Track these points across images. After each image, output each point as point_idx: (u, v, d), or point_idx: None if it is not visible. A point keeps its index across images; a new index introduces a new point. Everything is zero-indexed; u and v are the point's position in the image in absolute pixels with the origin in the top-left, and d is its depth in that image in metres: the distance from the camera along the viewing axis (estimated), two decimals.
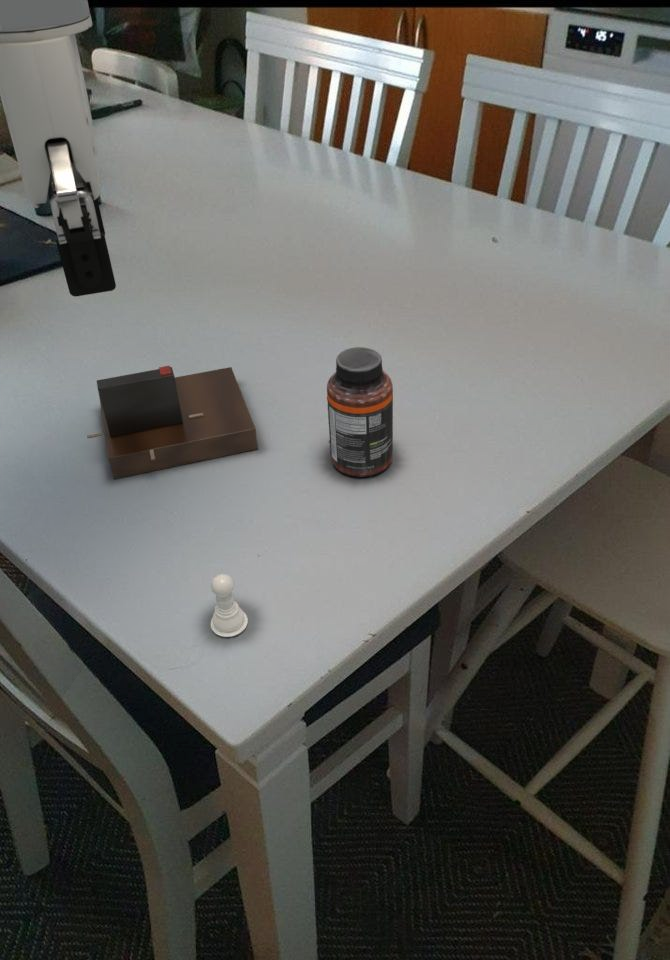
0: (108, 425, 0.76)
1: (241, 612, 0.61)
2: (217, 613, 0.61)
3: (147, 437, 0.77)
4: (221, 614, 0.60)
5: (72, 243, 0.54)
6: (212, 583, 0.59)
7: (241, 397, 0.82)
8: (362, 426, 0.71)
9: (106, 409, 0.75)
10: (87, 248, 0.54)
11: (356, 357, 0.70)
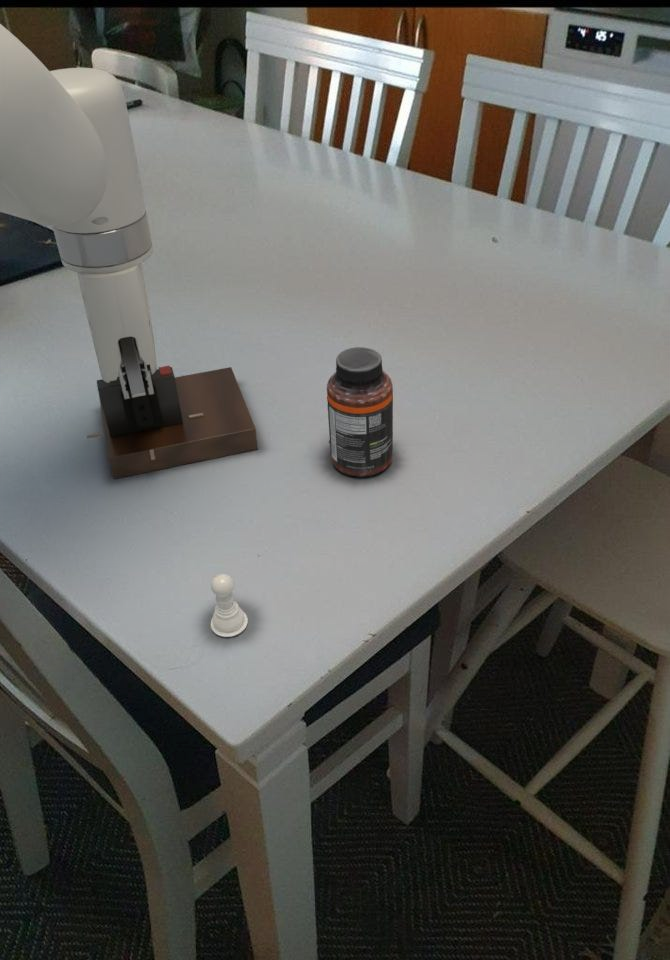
0: (108, 425, 0.76)
1: (241, 612, 0.61)
2: (217, 613, 0.61)
3: (147, 437, 0.77)
4: (221, 614, 0.60)
5: (133, 399, 0.74)
6: (212, 583, 0.59)
7: (241, 397, 0.82)
8: (362, 426, 0.71)
9: (106, 409, 0.75)
10: (144, 401, 0.74)
11: (356, 357, 0.70)
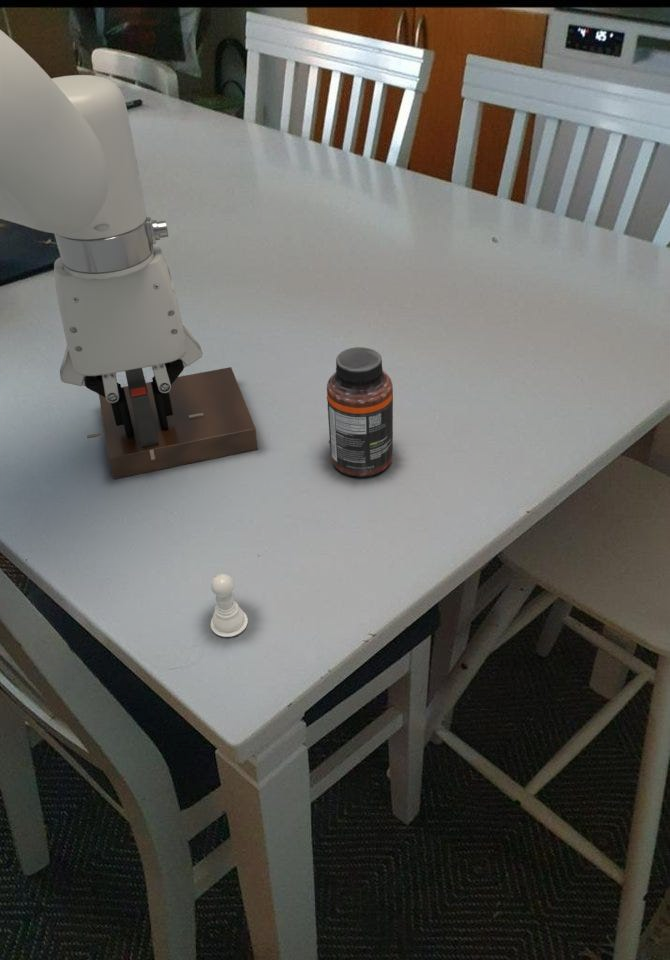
0: None
1: (241, 612, 0.61)
2: (217, 613, 0.61)
3: None
4: (221, 614, 0.60)
5: None
6: (212, 583, 0.59)
7: (241, 397, 0.82)
8: (362, 426, 0.71)
9: None
10: None
11: (356, 357, 0.70)
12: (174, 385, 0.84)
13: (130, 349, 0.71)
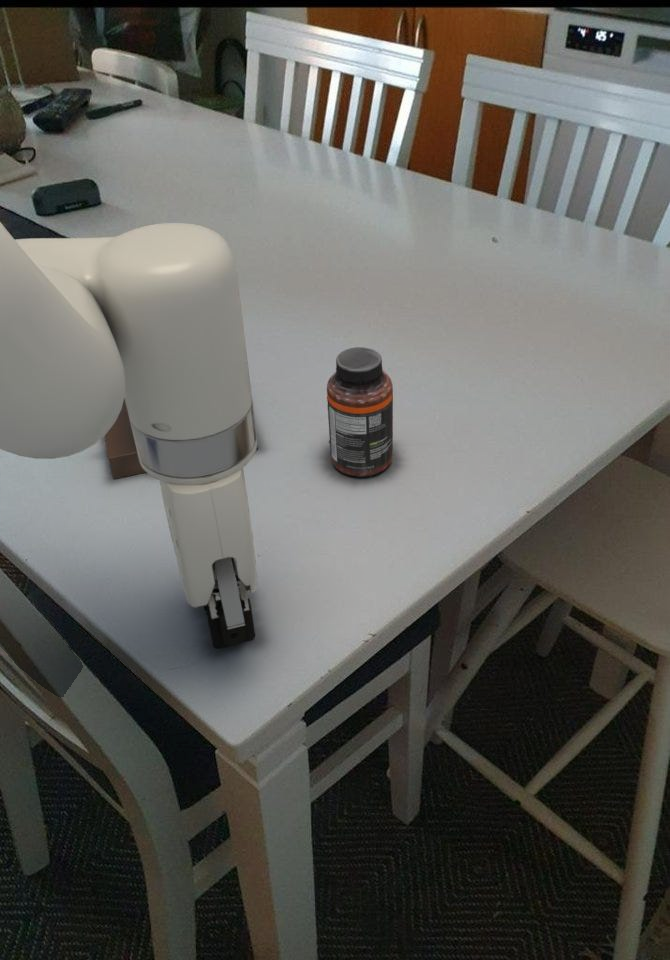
0: None
1: None
2: None
3: None
4: None
5: None
6: None
7: None
8: (362, 426, 0.71)
9: None
10: None
11: (356, 357, 0.70)
12: None
13: None
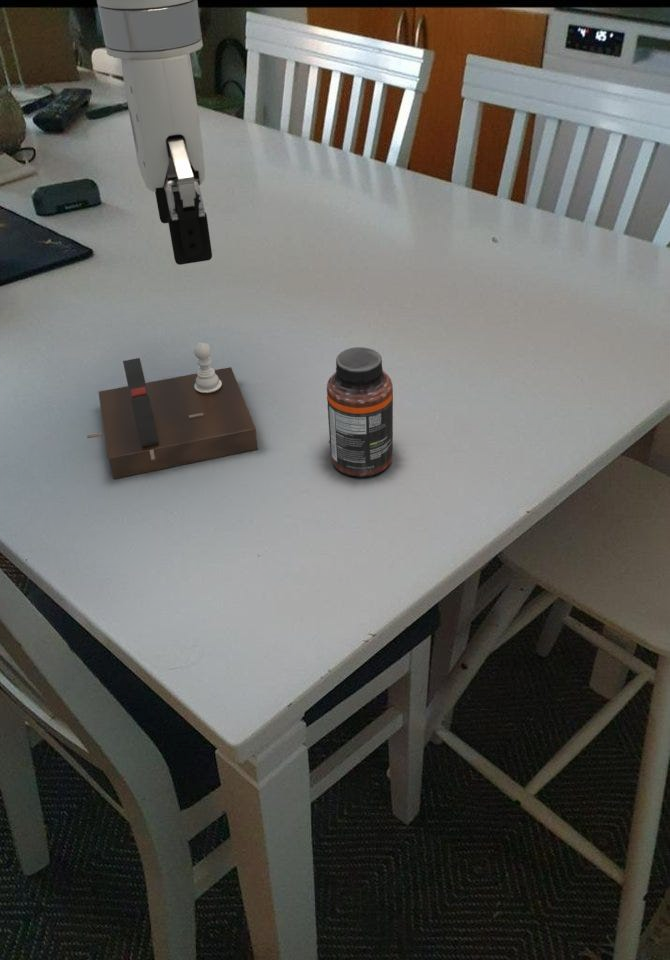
0: None
1: (217, 376, 0.83)
2: (198, 374, 0.82)
3: None
4: (201, 374, 0.82)
5: (182, 220, 0.67)
6: (195, 348, 0.81)
7: (241, 397, 0.82)
8: (362, 426, 0.71)
9: None
10: (193, 224, 0.67)
11: (356, 357, 0.70)
12: (174, 385, 0.84)
13: None
